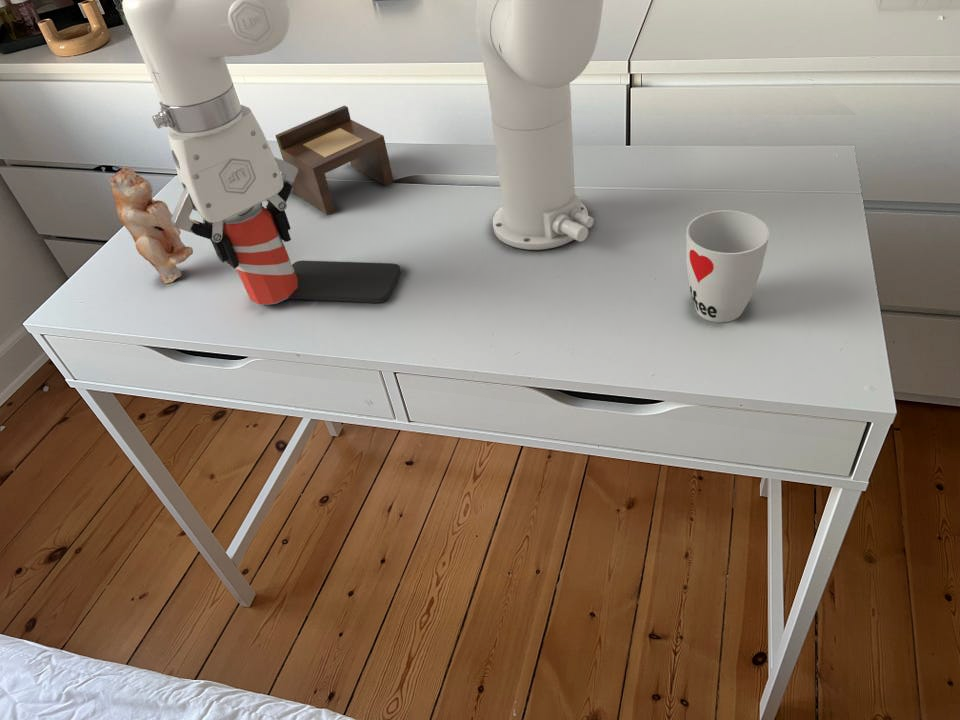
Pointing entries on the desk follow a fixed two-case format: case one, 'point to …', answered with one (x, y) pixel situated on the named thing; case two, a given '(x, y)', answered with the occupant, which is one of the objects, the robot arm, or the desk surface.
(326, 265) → the phone
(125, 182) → the figurine
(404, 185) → the desk surface
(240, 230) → the beverage can
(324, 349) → the desk surface
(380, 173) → the miniature wooden desk
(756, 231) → the cup
